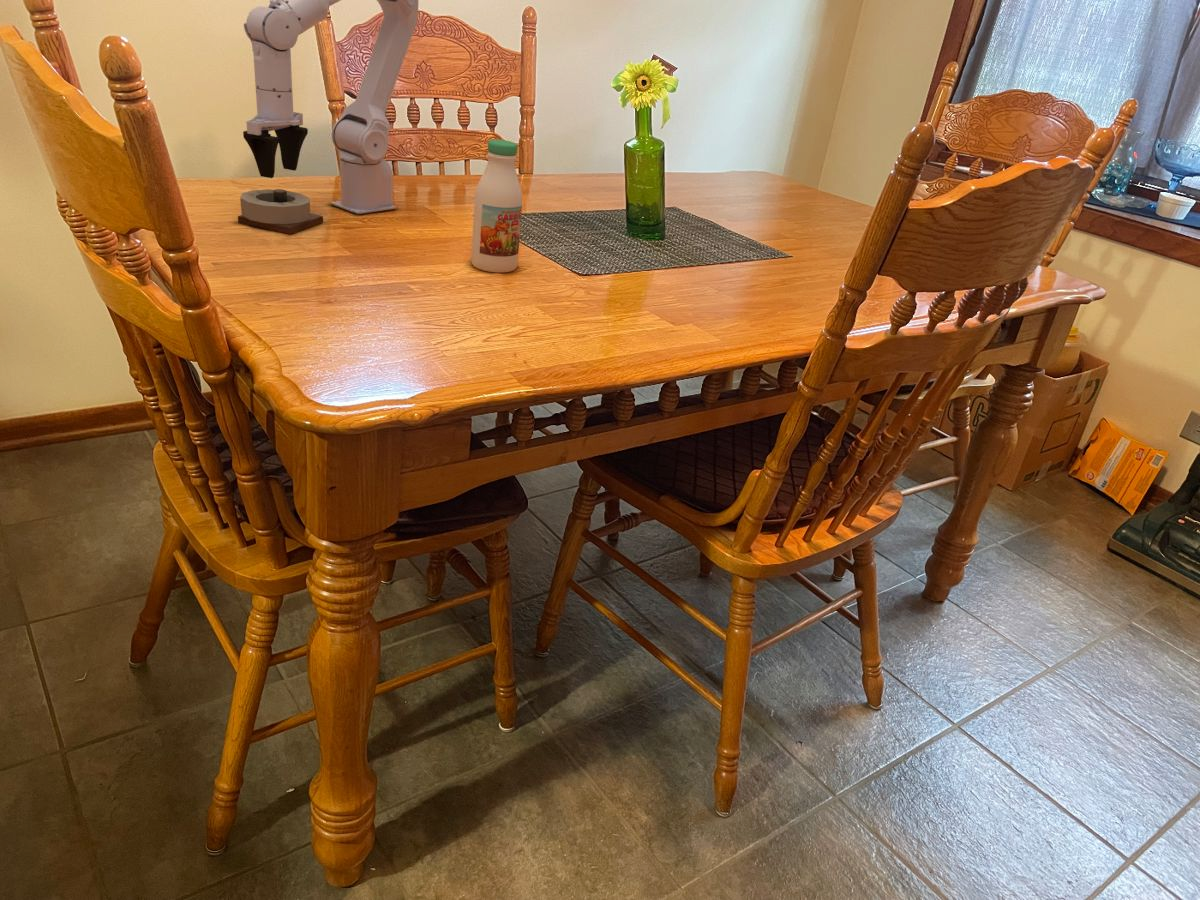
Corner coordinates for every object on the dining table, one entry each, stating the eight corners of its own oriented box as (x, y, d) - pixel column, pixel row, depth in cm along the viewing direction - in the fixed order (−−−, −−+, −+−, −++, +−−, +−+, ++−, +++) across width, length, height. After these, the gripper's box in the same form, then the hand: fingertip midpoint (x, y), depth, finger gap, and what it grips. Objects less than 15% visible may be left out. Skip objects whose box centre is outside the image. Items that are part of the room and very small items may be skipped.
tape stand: (273, 211, 148) (271, 180, 146) (323, 222, 147) (322, 191, 144) (238, 223, 140) (235, 190, 137) (290, 234, 138) (288, 201, 136)
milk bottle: (462, 266, 136) (469, 139, 126) (484, 256, 142) (492, 134, 133) (503, 277, 134) (513, 149, 124) (524, 266, 140) (535, 144, 131)
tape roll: (310, 208, 149) (309, 191, 148) (310, 225, 140) (309, 208, 139) (244, 204, 146) (243, 187, 144) (239, 222, 137) (238, 203, 135)
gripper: (273, 96, 130) (278, 184, 136) (317, 89, 142) (320, 170, 149) (231, 89, 131) (238, 177, 137) (279, 82, 143) (284, 163, 150)
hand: (278, 173), depth 143 cm, fingers open, 7 cm apart
